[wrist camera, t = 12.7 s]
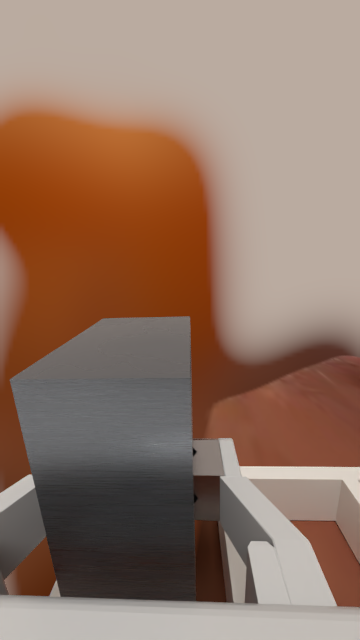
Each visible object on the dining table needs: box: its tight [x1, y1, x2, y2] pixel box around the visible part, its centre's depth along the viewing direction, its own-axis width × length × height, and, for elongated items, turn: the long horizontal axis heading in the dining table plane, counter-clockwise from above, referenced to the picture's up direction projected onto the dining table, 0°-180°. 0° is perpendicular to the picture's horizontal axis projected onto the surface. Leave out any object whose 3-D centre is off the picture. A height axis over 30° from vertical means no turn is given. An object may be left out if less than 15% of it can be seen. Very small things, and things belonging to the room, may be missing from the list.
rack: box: [50, 466, 360, 603], centre depth 9 cm, size 21×10×3 cm, turn 88°
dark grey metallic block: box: [10, 317, 196, 601], centre depth 8 cm, size 4×5×11 cm
